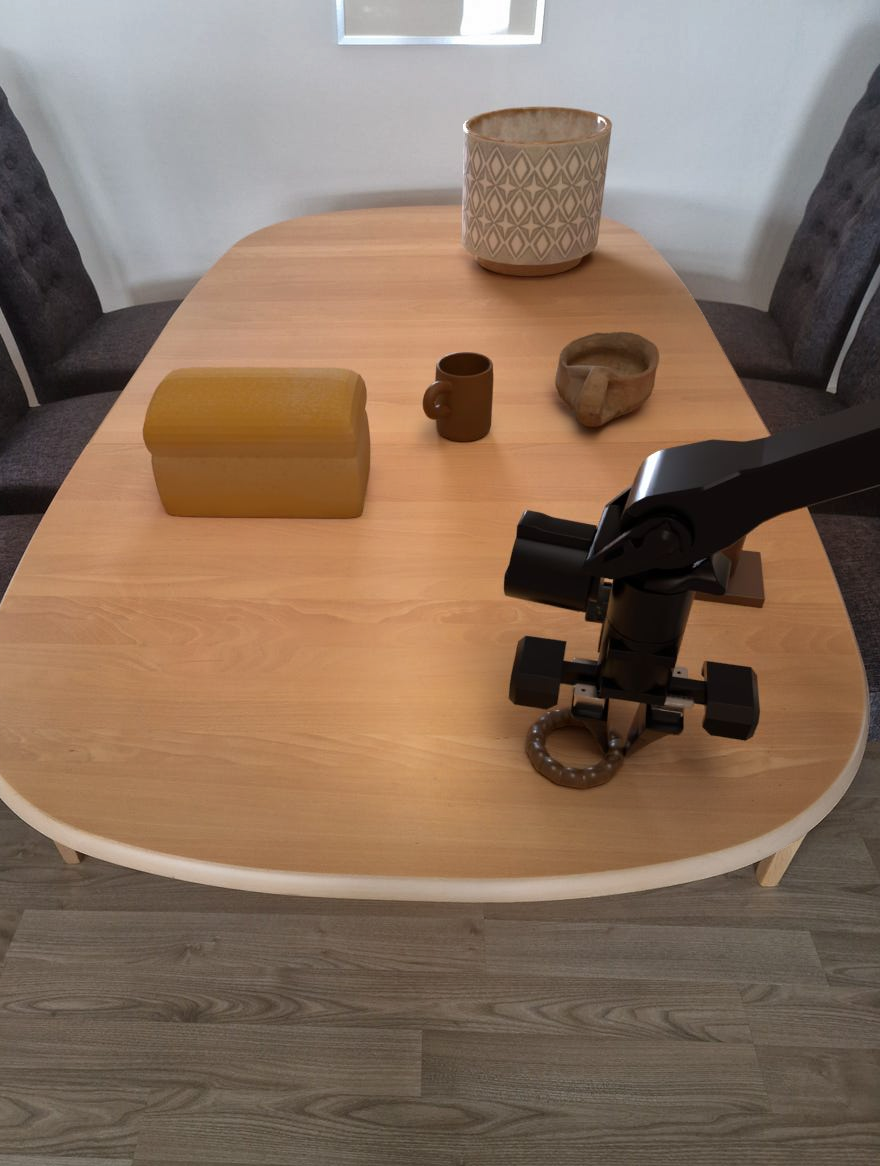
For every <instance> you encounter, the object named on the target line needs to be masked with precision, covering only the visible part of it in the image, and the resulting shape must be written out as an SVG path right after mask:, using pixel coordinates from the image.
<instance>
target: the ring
mask: <svg viewBox="0 0 880 1166" xmlns="http://www.w3.org/2000/svg"><path fill="white" fill-rule="evenodd" d="M570 711H571V706H565V707H561V708H557V709H553V710H549V711H546V712H544V713H543V714H542V715H541V716H540V717H539V718H538V719H537V720H536V721H534V722H533V723H532V724H531V725H530V727H529V729H528V733H527V739H526V744H525V751H526V752H527V755H528V756H529V758H530V761H531V763H532V765H533V766H534V768H535V770H536V771H537V772H539V773H540V774H542V775H543V776H545V777H546V778H548V779H549V780H550V781H552V782H554V783H555V784H557V785H560V786H565V787H572V788H577V789H588V788H592V787H595V786H599V785H602V784H607V783H608V782H610V781H611V780H612V779H613V778H614V777H615V775H617V774H618V772H620V771H621V769H622V768H623V767H624V765H625V760H626V759H625V758H626V757H624V749H625V743H626V740H625V739H624V737H622V734H621V732H619V730H618V728H617V727H616V724H615V723H614V722H612V721H611V720H610V741H609V749H608V752H607V754H605V757H603V758H602V759H601V760H600V762H598V763H597V764H596V765H591V766H588V767H584V768H578V767H573V766H567V765H563V764H562V763H560V762H559V761H558V760H556V759H555V758H553V757H551V755H550V753H549V751H548V749H547V747H546V742H547V737H548V736H549V735H550V734H551V733H552V732H553V731H554V730H555V729H558V728H562V727H567V726H573V727H574V726H575V727H581V728H586V729H588V727H587V726H586V725H585V724H584V722H583V721H580V720H575V719H573V718H572V717H571V715H570Z"/></svg>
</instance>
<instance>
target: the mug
mask: <svg viewBox="0 0 880 1166" xmlns="http://www.w3.org/2000/svg"><path fill="white" fill-rule="evenodd" d="M493 398H494V364H493V361H492V360H491V358H489V357H488V356H487V355H484V354H482V353H478V352H474V351H456V352H452V353H448V354H446V355H444V356H442V357H440V358H439V359H438V360H437V362H436V364H435V377H434V382H432V383H431V384H430V385H429V386H428V387H427V388H426V389H425V392H424V394H423V398H422V410H423V413H424V415H425V416H426V417H427V418H429V419H430V420H431V421H432V420H433V421H435V427H436V430H437V432H438V434H439V435H441V436H442V438H445V439H447V440H450V441H453V442H454V441H455V442H463V443H464V442H473V441H477V440H479V439H481V438H483V437H485V436H486V435H487V434H488V433H489V432H490V429H491V426H492V417H493V415H492V414H493V400H494V399H493Z"/></svg>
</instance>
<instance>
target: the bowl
mask: <svg viewBox="0 0 880 1166" xmlns="http://www.w3.org/2000/svg"><path fill="white" fill-rule="evenodd" d="M659 363H660V352H659V348H658V347H657V345H656V344H654V343H653V342H652V341H650V340H648V339H647V338H645V337H644V336H642V335H641V334H637V333H633V332H627V331H618V332H617V331H613V332H594V333H591V334H587V335H584V336H581V337H579V338H576V339H574V340H572V341H571V342H569V343H568V344H567V345H565V346H564V347H563V348H562V349H561V351H560V352H559V359H558V365H557V369H556V373H555V380H554V384H555V389H556V391H557V393H558V395H559V398H560V399H561V400H562V401H563V403H564V404H565V405H566V406H567V407H568V408H570V409H571V410H573V411H575V413H576V419H577V422H578V423H579V424H581V425H583V426H586V427H591V428H592V427H593V428H594V427H595V428H597V427H601V426H603V425H604V424H606V423H607V422H609V421H611V420H613V419H616V418H619V417H621V416H624V415H626V414H628V413H632V412H633V411H635V410H637V409H639V408H640V407H641V406H642V405H644V404H645V403H646V401H647V400H649V398H650V397H651V395H652V393H653V391H654V388H655V380H656V375H657V369H658V366H659Z"/></svg>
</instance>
